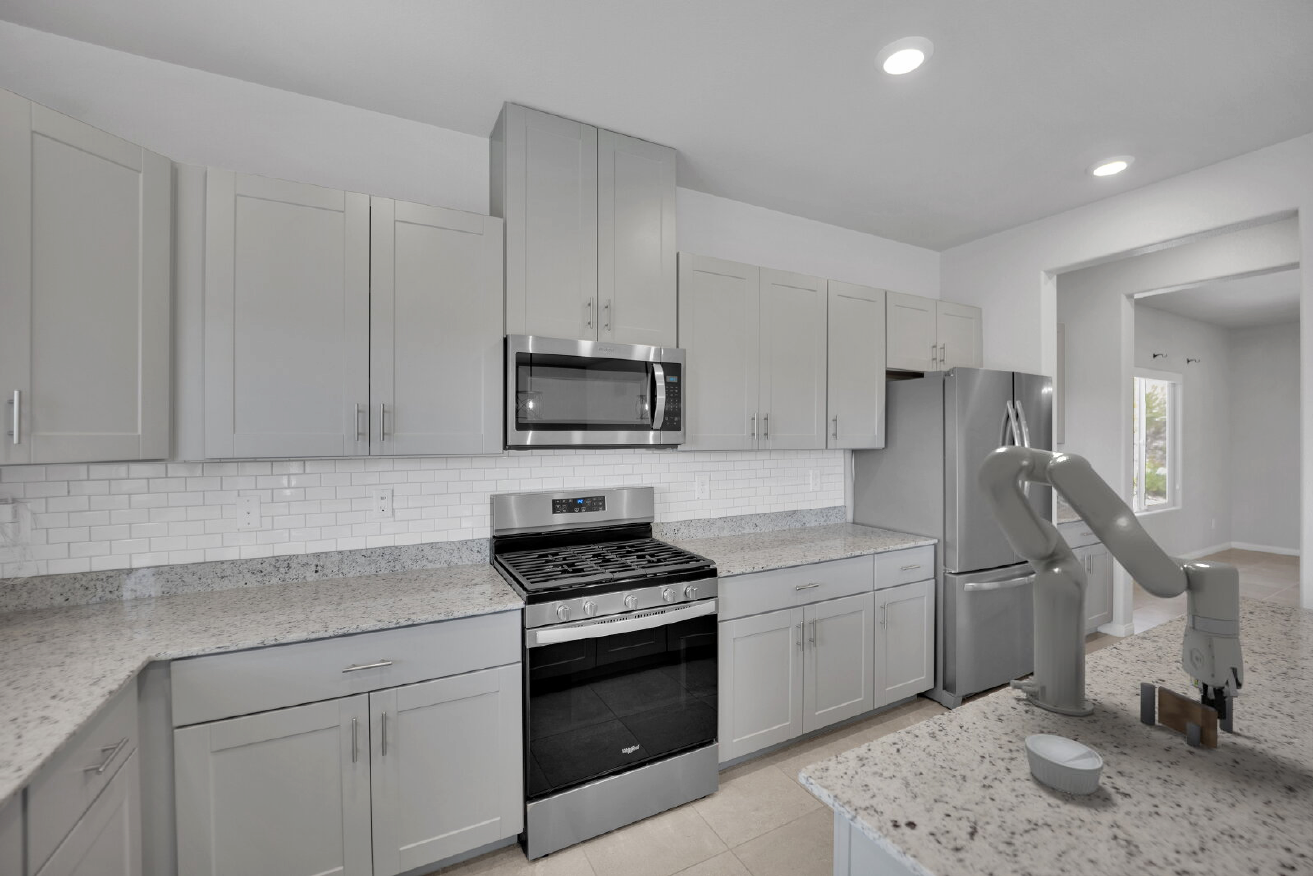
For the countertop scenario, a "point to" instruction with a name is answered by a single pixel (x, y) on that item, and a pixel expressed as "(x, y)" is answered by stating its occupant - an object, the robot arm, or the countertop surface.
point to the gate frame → (1149, 714)
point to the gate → (1187, 715)
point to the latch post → (1227, 717)
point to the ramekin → (1063, 763)
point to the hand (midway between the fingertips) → (1213, 717)
